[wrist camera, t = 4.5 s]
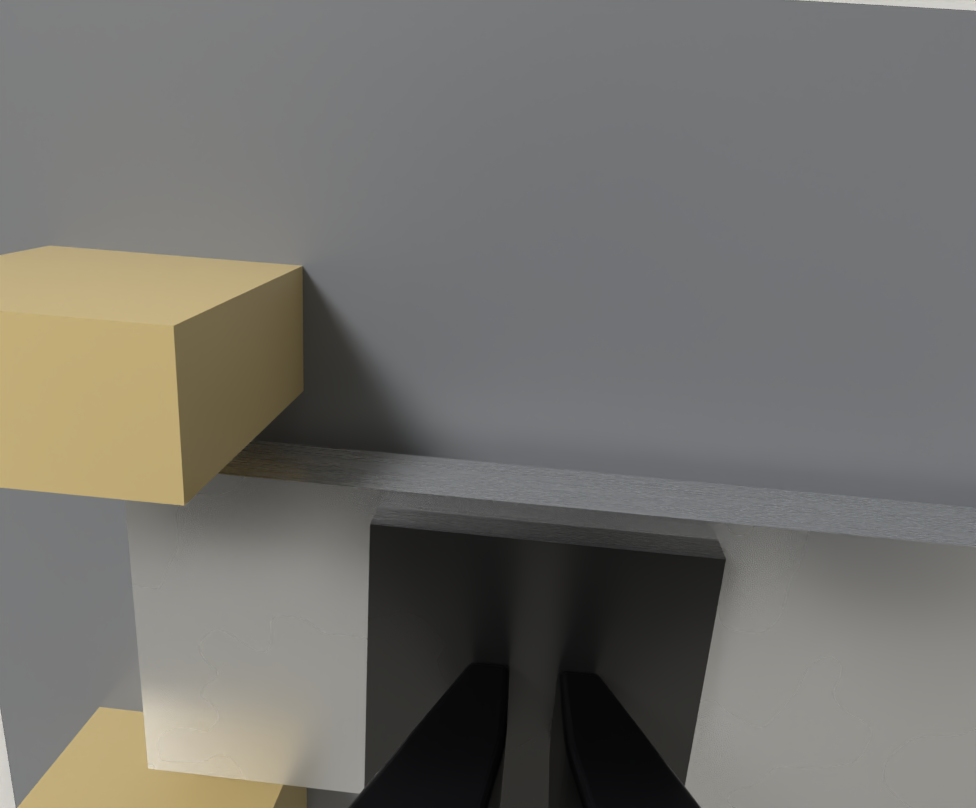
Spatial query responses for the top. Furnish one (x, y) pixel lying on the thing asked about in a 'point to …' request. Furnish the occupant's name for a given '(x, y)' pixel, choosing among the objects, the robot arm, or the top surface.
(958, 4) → the top surface
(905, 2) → the top surface
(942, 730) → the strap
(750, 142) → the hinge plate
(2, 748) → the top surface
